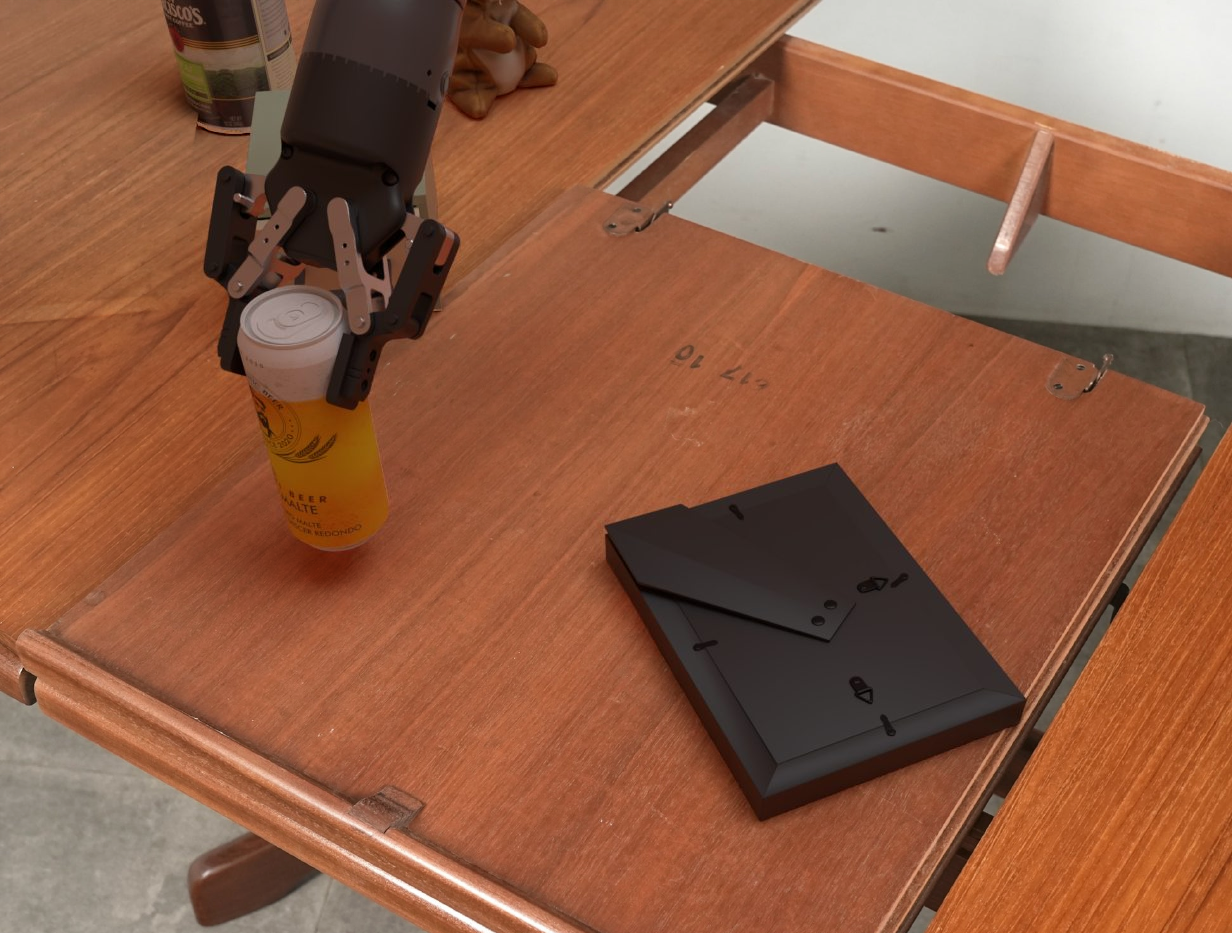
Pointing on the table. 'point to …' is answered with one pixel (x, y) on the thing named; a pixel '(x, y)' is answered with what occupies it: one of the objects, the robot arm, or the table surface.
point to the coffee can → (230, 55)
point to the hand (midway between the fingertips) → (287, 389)
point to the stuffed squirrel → (497, 54)
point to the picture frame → (807, 637)
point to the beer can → (312, 418)
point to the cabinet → (268, 151)
